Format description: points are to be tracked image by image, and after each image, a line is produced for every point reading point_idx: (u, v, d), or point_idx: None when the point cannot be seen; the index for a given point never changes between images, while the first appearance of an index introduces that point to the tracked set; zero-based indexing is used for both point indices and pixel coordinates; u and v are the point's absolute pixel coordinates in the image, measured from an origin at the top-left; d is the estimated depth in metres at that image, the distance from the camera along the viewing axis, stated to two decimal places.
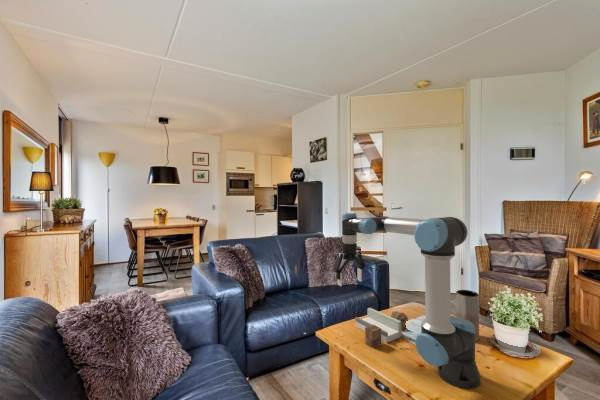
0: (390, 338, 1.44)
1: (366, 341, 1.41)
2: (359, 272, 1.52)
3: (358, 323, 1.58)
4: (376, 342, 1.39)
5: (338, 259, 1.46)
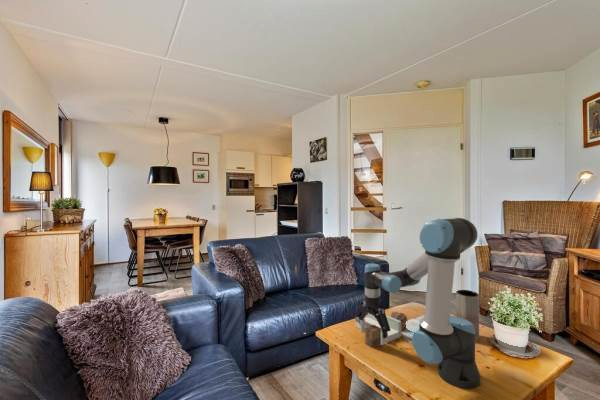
0: (390, 338, 1.44)
1: (366, 341, 1.41)
2: None
3: (358, 323, 1.58)
4: (376, 342, 1.39)
5: None
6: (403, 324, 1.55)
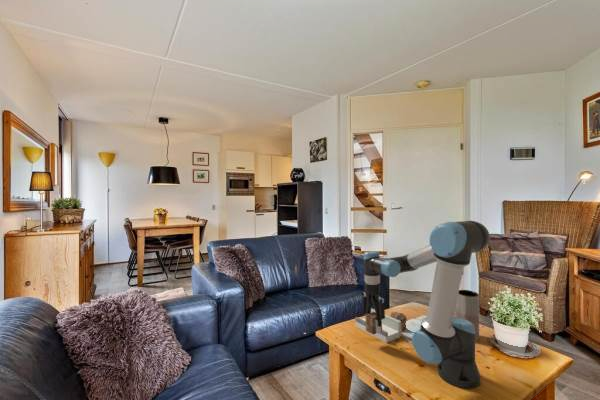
0: (390, 338, 1.44)
1: (367, 328, 1.40)
2: None
3: (358, 323, 1.58)
4: None
5: None
6: (403, 324, 1.55)
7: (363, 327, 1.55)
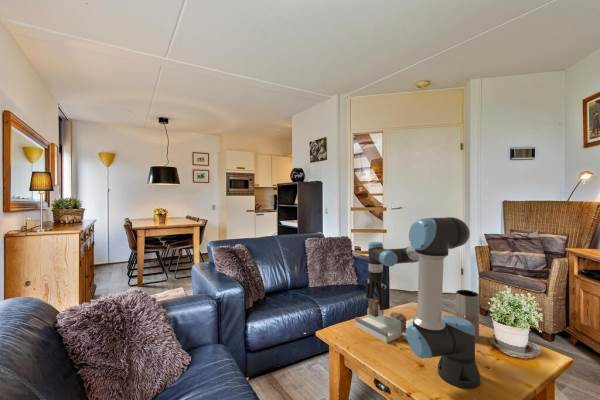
0: (390, 338, 1.44)
1: (370, 312, 1.53)
2: None
3: (358, 323, 1.58)
4: None
5: None
6: (402, 325, 1.55)
7: (363, 327, 1.55)
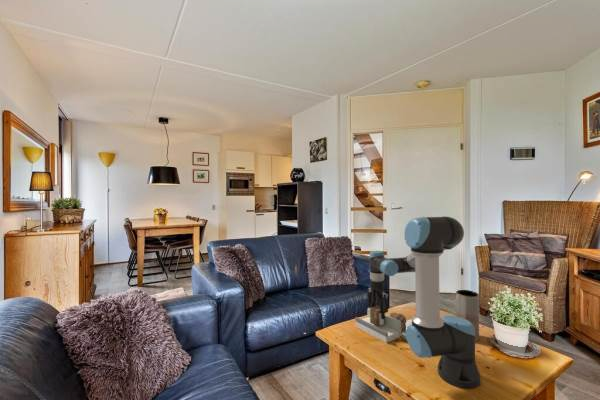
0: (390, 338, 1.44)
1: (371, 321, 1.54)
2: None
3: (358, 323, 1.58)
4: None
5: None
6: (402, 325, 1.54)
7: (363, 327, 1.55)
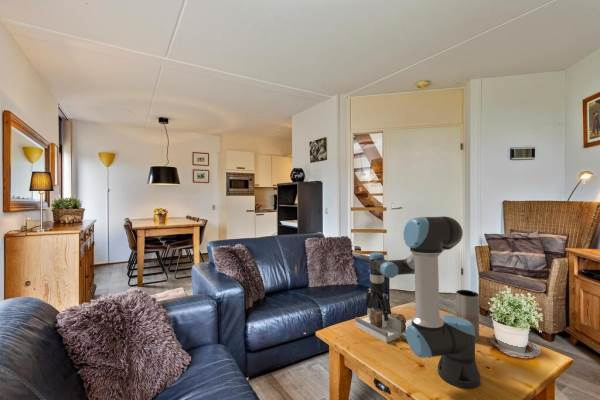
0: (390, 338, 1.44)
1: (371, 323, 1.54)
2: None
3: (358, 323, 1.58)
4: (381, 324, 1.52)
5: None
6: (402, 325, 1.54)
7: (363, 327, 1.55)
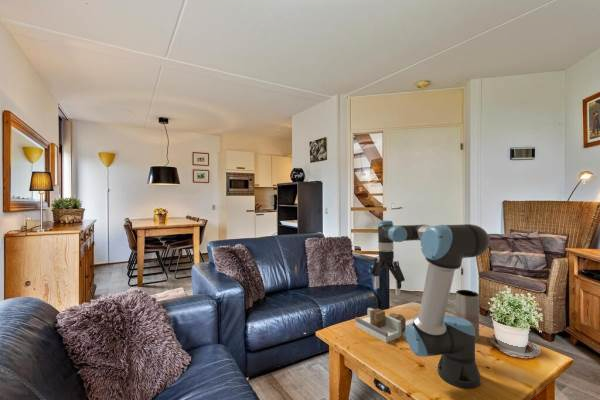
0: (390, 338, 1.44)
1: (371, 323, 1.54)
2: None
3: (358, 323, 1.58)
4: (381, 324, 1.52)
5: None
6: (401, 326, 1.54)
7: (363, 327, 1.55)
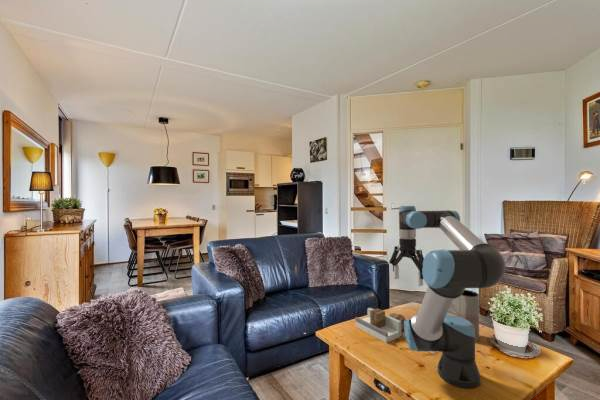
0: (390, 338, 1.44)
1: (371, 323, 1.54)
2: None
3: (358, 323, 1.58)
4: (381, 324, 1.52)
5: None
6: (402, 326, 1.53)
7: (363, 327, 1.55)
